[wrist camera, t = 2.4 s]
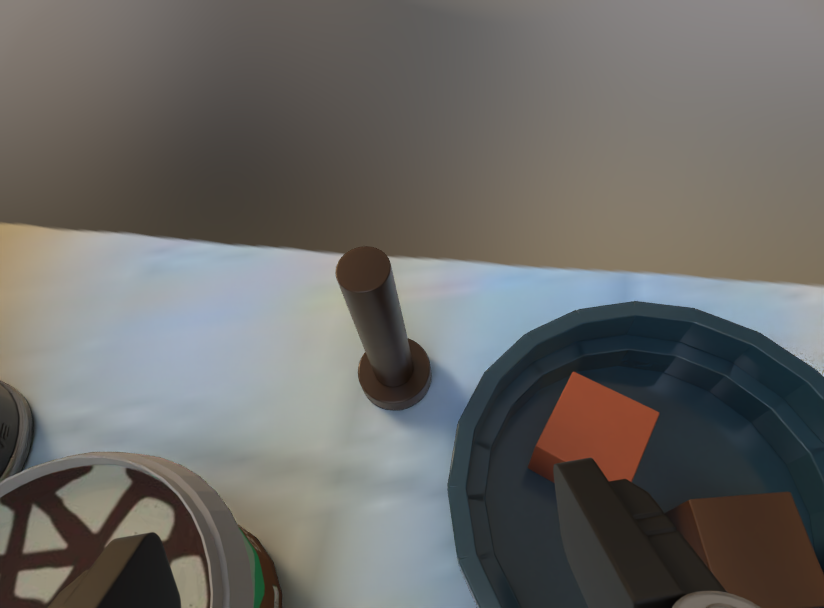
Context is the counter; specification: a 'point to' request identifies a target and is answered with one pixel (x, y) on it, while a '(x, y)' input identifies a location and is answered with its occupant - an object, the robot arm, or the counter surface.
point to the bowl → (666, 449)
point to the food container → (126, 530)
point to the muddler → (382, 331)
